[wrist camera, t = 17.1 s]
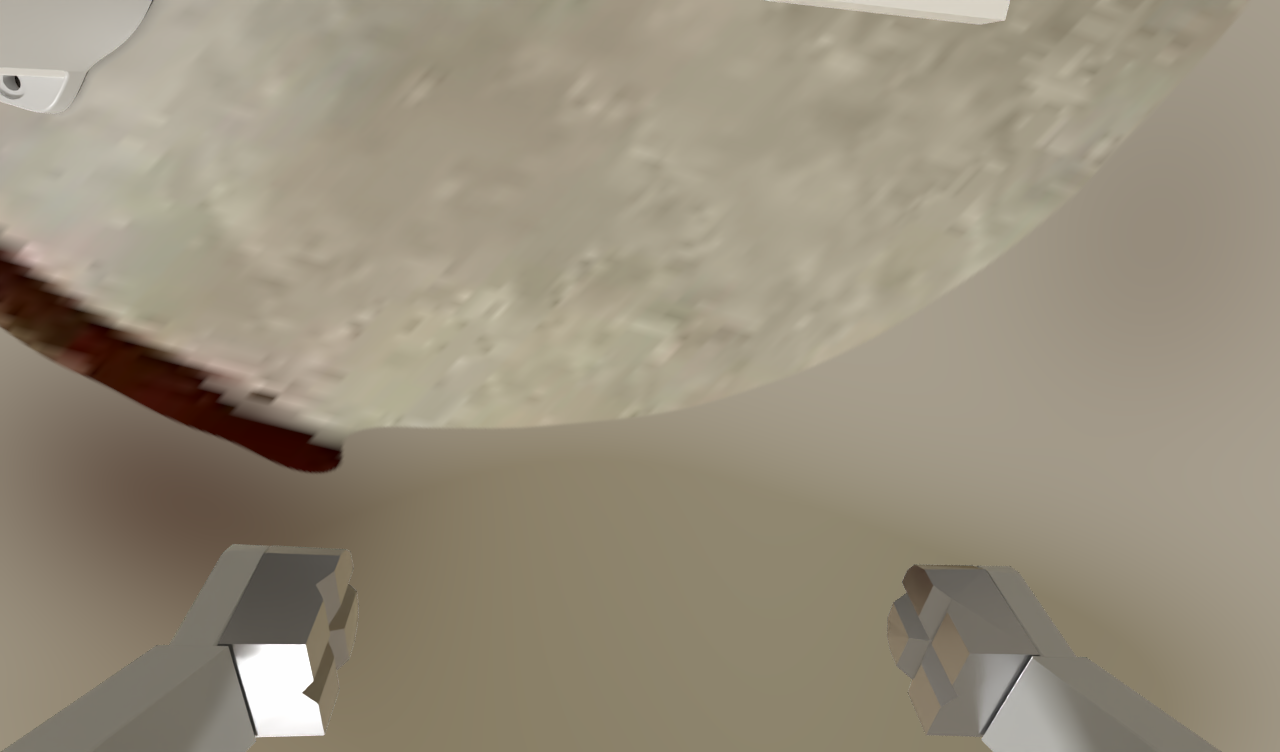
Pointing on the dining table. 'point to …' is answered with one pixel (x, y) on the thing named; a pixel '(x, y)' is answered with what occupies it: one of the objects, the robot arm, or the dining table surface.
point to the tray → (922, 8)
